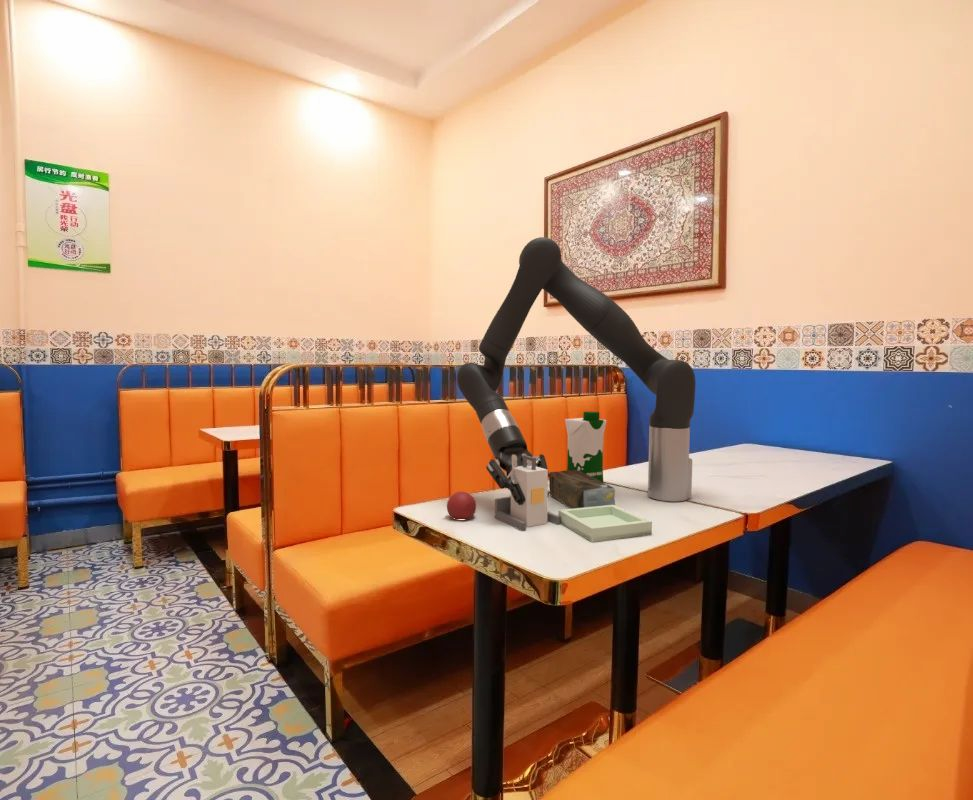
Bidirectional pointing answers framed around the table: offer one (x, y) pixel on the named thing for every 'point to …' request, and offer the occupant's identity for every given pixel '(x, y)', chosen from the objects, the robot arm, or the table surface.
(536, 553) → the table surface
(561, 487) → the beverage carton
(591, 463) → the milk carton
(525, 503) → the white tall block
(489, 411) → the robot arm
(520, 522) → the bay
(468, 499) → the fruit
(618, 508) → the tray
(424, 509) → the table surface
